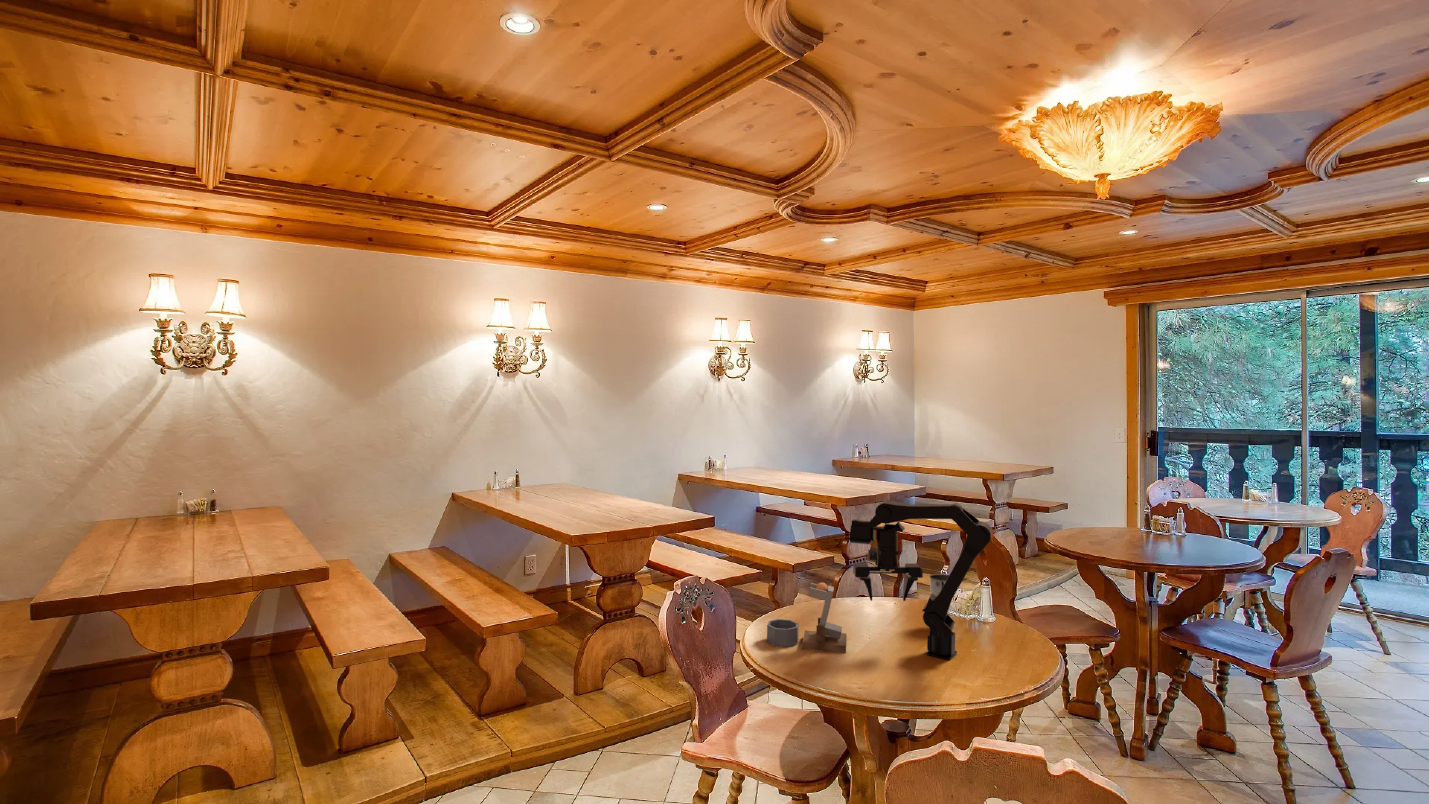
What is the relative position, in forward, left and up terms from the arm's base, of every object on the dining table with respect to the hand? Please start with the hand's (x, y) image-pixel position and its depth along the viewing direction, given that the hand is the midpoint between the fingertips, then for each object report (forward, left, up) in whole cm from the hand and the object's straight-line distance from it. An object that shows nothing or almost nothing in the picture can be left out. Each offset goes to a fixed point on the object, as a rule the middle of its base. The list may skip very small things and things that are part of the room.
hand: (887, 600), depth 203 cm
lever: (+16, +11, -9) cm, 21 cm away
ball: (+15, +11, +3) cm, 19 cm away
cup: (+25, +15, -13) cm, 32 cm away
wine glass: (-7, -27, -13) cm, 31 cm away
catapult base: (+15, +11, -13) cm, 23 cm away
